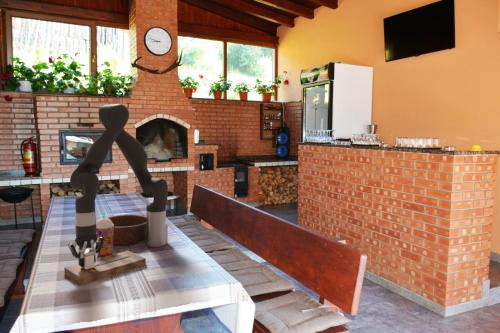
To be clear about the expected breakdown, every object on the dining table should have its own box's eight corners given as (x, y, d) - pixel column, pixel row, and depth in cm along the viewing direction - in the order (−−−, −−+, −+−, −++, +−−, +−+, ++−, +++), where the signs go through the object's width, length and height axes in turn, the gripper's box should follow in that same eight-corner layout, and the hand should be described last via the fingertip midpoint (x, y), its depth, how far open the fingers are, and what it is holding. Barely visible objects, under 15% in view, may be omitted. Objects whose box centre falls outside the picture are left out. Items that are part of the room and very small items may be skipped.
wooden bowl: (136, 250, 184) (135, 229, 183) (88, 245, 189) (88, 225, 188) (158, 234, 208) (158, 216, 207) (116, 231, 213) (115, 212, 212)
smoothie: (93, 258, 172) (92, 214, 169) (95, 252, 180) (94, 209, 177) (113, 257, 174) (112, 213, 171) (115, 250, 182) (114, 209, 179)
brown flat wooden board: (128, 256, 175) (128, 249, 174) (145, 265, 165) (145, 257, 165) (64, 274, 154) (64, 266, 154) (80, 285, 145) (80, 276, 144)
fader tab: (88, 263, 156) (88, 249, 156) (94, 267, 153) (94, 252, 152) (80, 265, 154) (79, 251, 153) (86, 269, 150) (85, 254, 150)
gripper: (98, 217, 159) (99, 258, 161) (63, 224, 148) (64, 267, 150) (107, 221, 154) (108, 263, 156) (71, 228, 143) (73, 273, 146)
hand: (87, 265), depth 153 cm, fingers open, 3 cm apart
